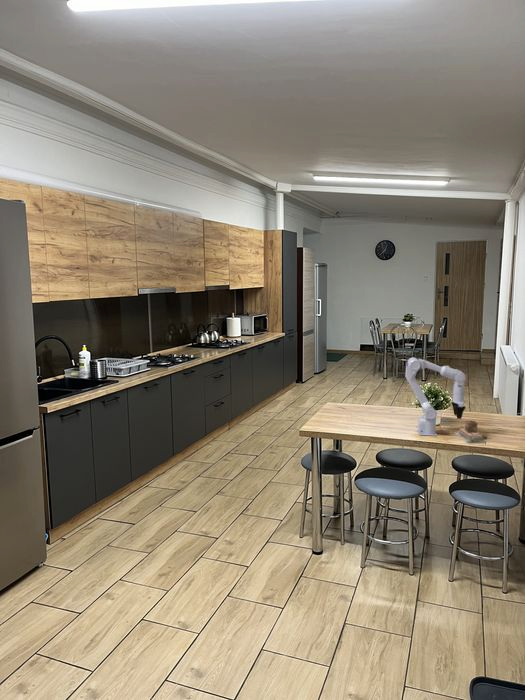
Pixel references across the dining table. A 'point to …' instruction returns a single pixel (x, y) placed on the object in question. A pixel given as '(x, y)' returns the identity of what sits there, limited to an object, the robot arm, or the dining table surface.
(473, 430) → the walnut cube
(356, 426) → the dining table surface
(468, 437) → the packaged product
